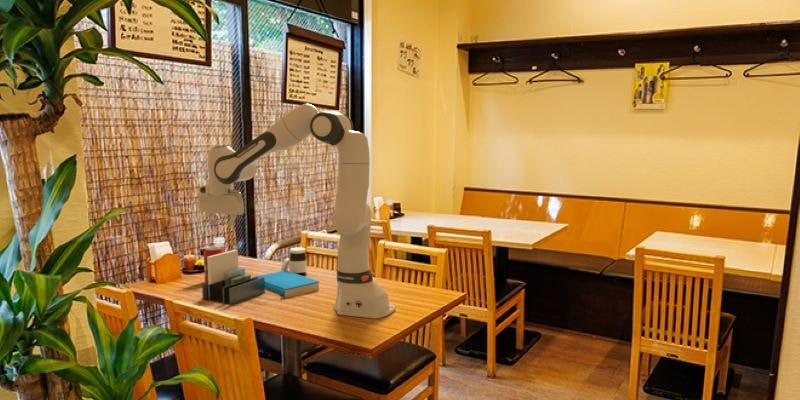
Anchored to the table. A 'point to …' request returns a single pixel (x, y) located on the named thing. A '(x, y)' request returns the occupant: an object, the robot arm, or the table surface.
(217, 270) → the tall sheet
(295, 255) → the striped mug
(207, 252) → the soda can
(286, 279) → the book
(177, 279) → the table surface
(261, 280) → the rack
